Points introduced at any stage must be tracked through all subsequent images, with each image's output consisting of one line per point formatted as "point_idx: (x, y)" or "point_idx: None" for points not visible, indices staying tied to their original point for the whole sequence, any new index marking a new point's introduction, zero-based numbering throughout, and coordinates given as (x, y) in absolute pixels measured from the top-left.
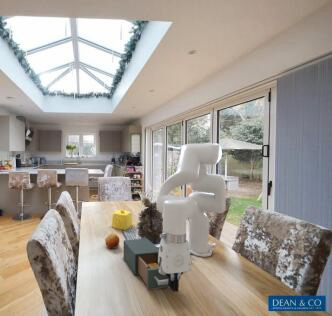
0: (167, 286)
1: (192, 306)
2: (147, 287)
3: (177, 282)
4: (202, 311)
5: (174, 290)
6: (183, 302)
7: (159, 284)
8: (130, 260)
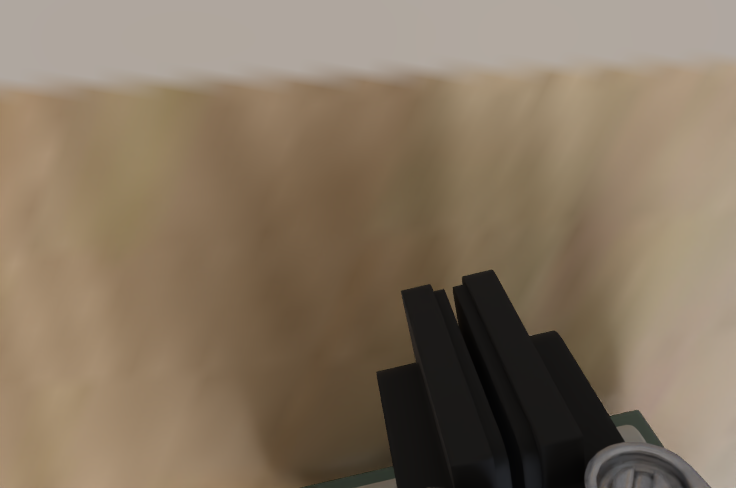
0: (378, 473)
1: (150, 195)
2: (646, 431)
3: (465, 416)
4: (27, 107)
5: (489, 287)
6: (252, 258)
7: (636, 430)
8: None
